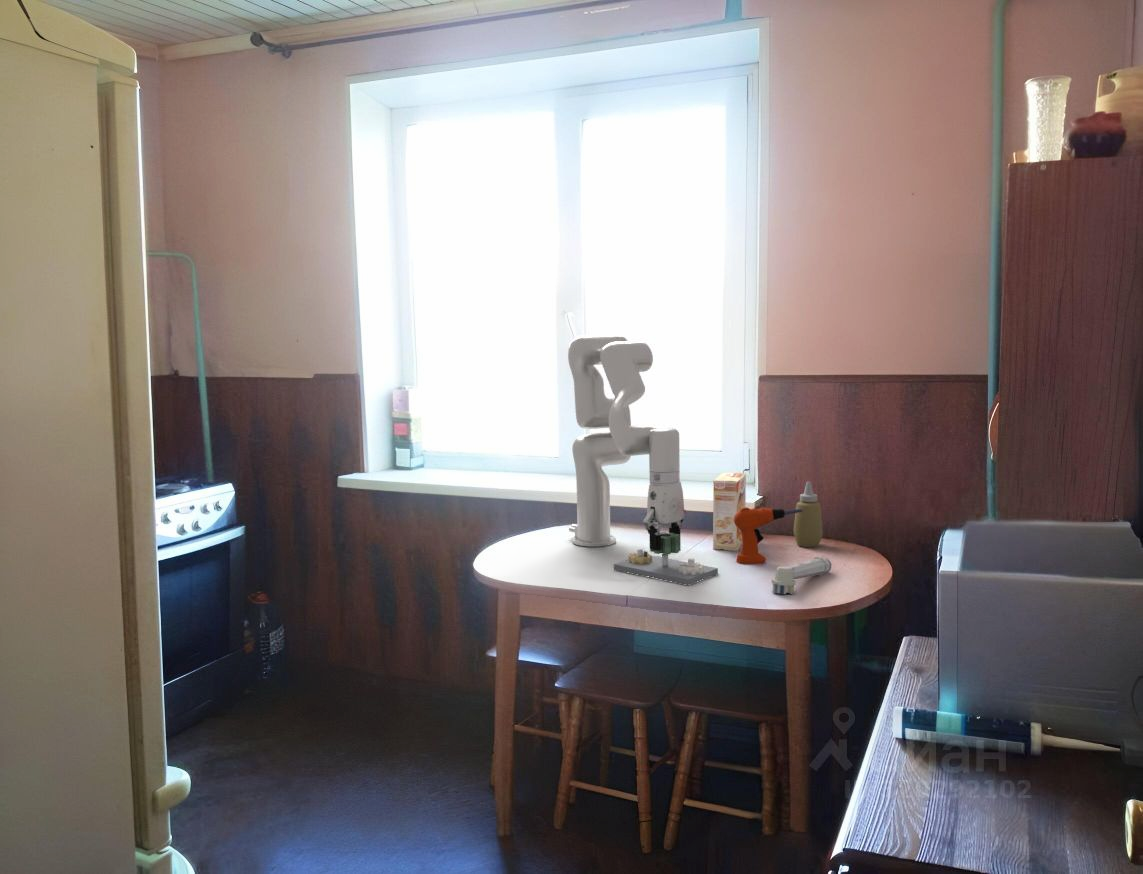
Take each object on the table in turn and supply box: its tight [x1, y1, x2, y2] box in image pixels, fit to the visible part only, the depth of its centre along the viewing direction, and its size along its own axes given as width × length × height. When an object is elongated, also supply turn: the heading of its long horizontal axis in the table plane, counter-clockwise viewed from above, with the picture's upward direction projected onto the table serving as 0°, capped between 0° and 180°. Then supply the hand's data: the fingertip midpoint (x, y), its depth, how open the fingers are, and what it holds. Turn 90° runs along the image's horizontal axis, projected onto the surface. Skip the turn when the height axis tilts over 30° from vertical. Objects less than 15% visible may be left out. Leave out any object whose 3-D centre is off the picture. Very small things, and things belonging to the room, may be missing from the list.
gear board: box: [613, 548, 719, 586], centre depth 224 cm, size 23×13×4 cm, turn 48°
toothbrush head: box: [771, 556, 832, 595], centre depth 212 cm, size 5×7×25 cm
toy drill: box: [734, 506, 803, 565], centre depth 232 cm, size 5×19×15 cm, turn 91°
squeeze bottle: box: [793, 481, 824, 548], centre depth 248 cm, size 8×8×18 cm
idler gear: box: [649, 531, 682, 555], centre depth 223 cm, size 8×8×4 cm
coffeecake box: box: [712, 472, 747, 552], centre depth 251 cm, size 15×7×20 cm, turn 160°
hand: (665, 546), depth 223 cm, fingers closed on idler gear, 7 cm apart
